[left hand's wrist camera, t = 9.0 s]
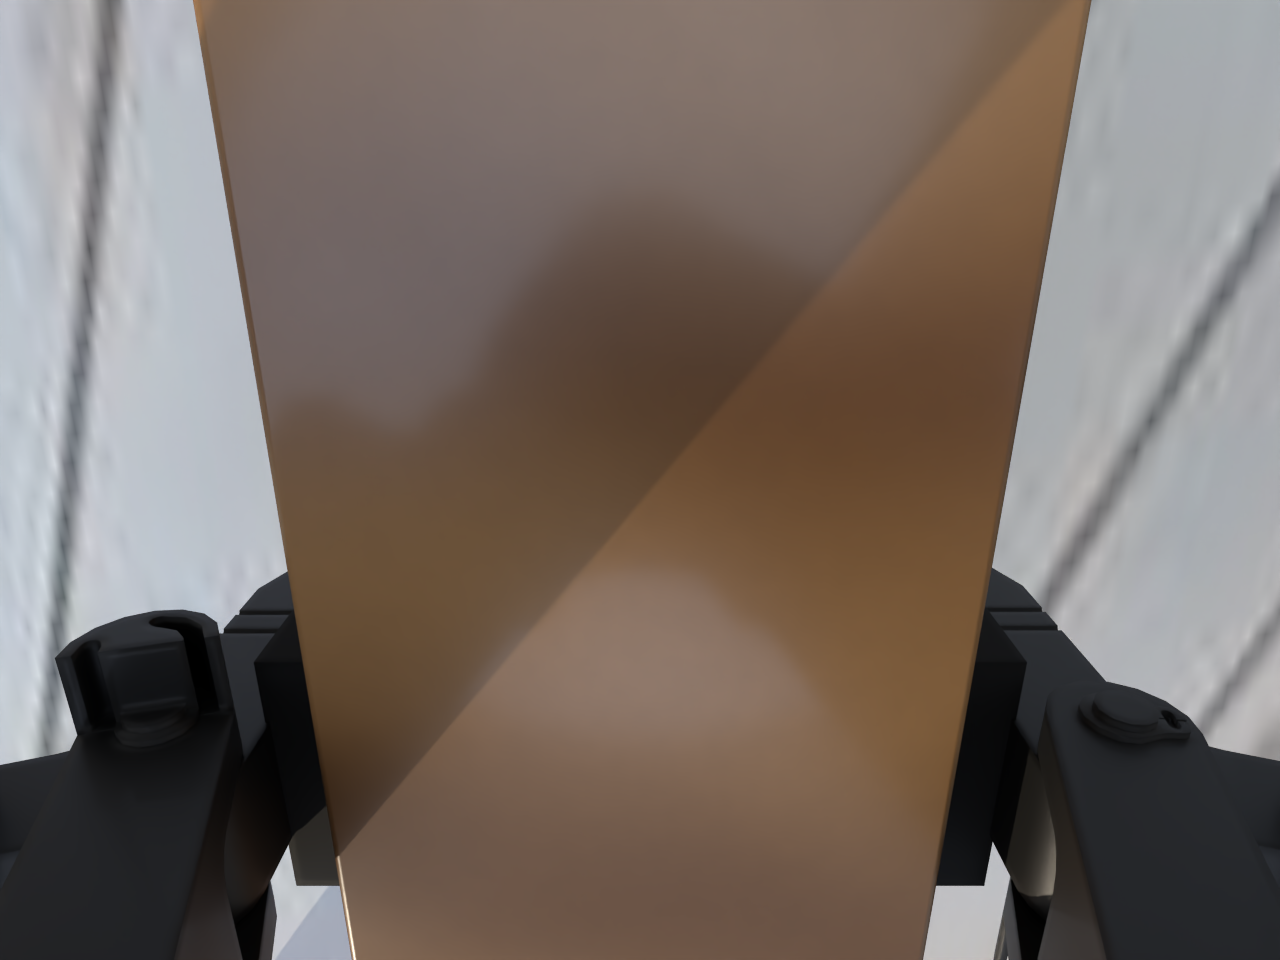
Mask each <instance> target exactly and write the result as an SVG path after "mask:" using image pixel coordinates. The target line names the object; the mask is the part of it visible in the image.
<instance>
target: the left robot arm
mask: <svg viewBox="0 0 1280 960" xmlns="http://www.w3.org/2000/svg"><path fill="white" fill-rule="evenodd" d="M55 660H56V663H57V667H58V670H59V674H60V677H61V681H62V684H63V687H64V691H65V694H66V698H67V701H68V705H69V708H70V711H71V715H72V718H73V722H74V725H75V729H76V732H77V737H76V739H75V741H74V743H73V745H72V747H71V749H70V751H67V752H63V753H59V754H55V755H50V756H44V757H39V758H34V759H29V760H24V761H19V762H14V763H9V764H4V765H0V960H272V952H273V944H274V936H275V927H276V919H277V914H276V907H275V901H274V896H273V891H272V886H271V881H270V880H271V878H272V876H273V874H274V872H275V870H276V868H277V866H278V864H279V862H280V860H281V858H282V856H283V854H284V852H285V850H286V848H287V846H288V844H289V849H290V854H291V859H292V864H293V870H294V875H295V880H296V885H297V886H340V884H339V878H338V872H337V866H336V860H335V854H334V848H333V842H332V836H331V830H330V824H329V817H328V811H327V805H326V799H325V793H324V787H323V781H322V775H321V769H320V763H319V757H318V751H317V745H316V739H315V733H314V727H313V721H312V715H311V709H310V703H309V697H308V691H307V685H306V679H305V673H304V667H303V661H302V655H301V648H300V642H299V636H298V630H297V624H296V618H295V612H294V606H293V600H292V594H291V588H290V582H289V576H288V572H286V573H284V574H283V575H281V576H279V577H277V578H276V579H274V580H272V581H271V582H269V583H267V584H266V585H264V586H262V587H261V588H259V589H258V590H257V591H256V592H255V593H254V594H253V596H252V597H251V598H250V599H249V600H248V601H247V603H246V604H245V605H244V606H243V607H242V608H241V610H240V614H239V615H235V616H234V618H233V619H232V620H231V621H230V622H229V623H228V625H227V626H226V627H225V628H224V633H223V634H219V630H218V625H217V622H215V621H214V620H213V619H211V618H210V617H208V616H207V615H206V614H203V613H198V612H193V611H187V610H163V611H152V612H147V613H142V614H138V615H133V616H128V617H124V618H121V619H118V620H116V621H113V622H110V623H107V624H105V625H102V626H99V627H97V628H94V629H93V630H91V631H89V632H87V633H86V634H84V635H82V636H81V637H79V638H77V639H75V640H74V641H72V642H70V643H69V644H68V645H67V646H66V647H65V648H64V649H63V650H62V651H61V652H60V653H59V654H58V656H57V657H56V658H55ZM992 842H993V843H994V845H995V847H996V849H997V851H998V853H999V855H1000V857H1001V859H1002V861H1003V863H1004V865H1005V867H1006V868H1007V870H1008V872H1009V874H1010V881H1009V886H1008V891H1007V896H1006V900H1005V905H1004V910H1003V915H1002V920H1001V924H1000V929H999V934H998V939H997V944H996V949H995V954H994V960H1007V956H1008V958H1009V960H1280V761H1276V760H1271V759H1266V758H1261V757H1256V756H1251V755H1245V754H1240V753H1235V752H1230V751H1225V750H1221V749H1217V748H1213V747H1209V746H1208V744H1207V742H1206V740H1205V738H1204V736H1203V734H1202V733H1201V731H1200V730H1199V729H1198V728H1197V727H1196V725H1195V724H1194V723H1193V722H1192V720H1191V719H1190V718H1189V717H1188V716H1187V715H1185V714H1184V713H1182V712H1181V711H1179V710H1178V709H1176V708H1175V707H1173V706H1172V705H1170V704H1169V703H1168V702H1166V701H1164V700H1162V699H1159V698H1157V697H1155V696H1152V695H1150V694H1148V693H1146V692H1143V691H1141V690H1139V689H1135V688H1131V687H1127V686H1123V685H1119V684H1115V683H1111V682H1106V681H1105V680H1104V679H1103V677H1102V676H1101V675H1100V674H1099V673H1098V672H1097V671H1096V669H1095V668H1094V667H1093V666H1092V665H1091V664H1090V663H1089V661H1088V660H1087V659H1086V658H1085V657H1084V656H1083V655H1082V653H1081V652H1080V651H1079V650H1078V649H1077V648H1076V646H1075V645H1074V644H1073V643H1072V642H1071V641H1070V640H1069V638H1068V637H1067V636H1066V635H1065V634H1064V633H1063V632H1062V630H1058V629H1057V625H1056V623H1055V622H1054V621H1053V620H1052V619H1051V618H1050V617H1049V615H1048V614H1047V613H1046V612H1042V607H1041V606H1040V605H1039V604H1038V603H1037V602H1036V600H1035V599H1034V598H1033V597H1032V596H1031V595H1030V594H1029V592H1028V591H1027V590H1026V589H1025V588H1024V587H1023V586H1022V585H1020V584H1019V583H1017V582H1015V581H1014V580H1012V579H1010V578H1008V577H1007V576H1005V575H1003V574H1002V573H1000V572H998V571H997V570H995V569H993V568H992V569H991V575H990V580H989V586H988V592H987V597H986V603H985V609H984V614H983V620H982V626H981V632H980V637H979V643H978V649H977V654H976V660H975V666H974V671H973V677H972V683H971V689H970V694H969V700H968V706H967V711H966V717H965V723H964V728H963V734H962V740H961V746H960V751H959V757H958V763H957V768H956V774H955V780H954V785H953V791H952V797H951V802H950V808H949V814H948V820H947V825H946V831H945V837H944V842H943V848H942V854H941V859H940V865H939V871H938V877H937V882H936V886H984V883H985V878H986V873H987V868H988V863H989V857H990V852H991V847H992Z"/></svg>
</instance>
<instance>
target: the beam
mask: <svg viewBox="0 0 1280 960" xmlns="http://www.w3.org/2000/svg"><path fill="white" fill-rule="evenodd" d="M193 3H194V9H195V15H196V21H197V27H198V33H199V39H200V45H201V51H202V57H203V63H204V69H205V75H206V81H207V87H208V93H209V99H210V105H211V111H212V117H213V123H214V129H215V135H216V142H217V148H218V154H219V160H220V166H221V172H222V178H223V184H224V190H225V196H226V202H227V208H228V214H229V220H230V226H231V232H232V238H233V244H234V250H235V256H236V262H237V268H238V274H239V280H240V286H241V292H242V298H243V304H244V311H245V317H246V323H247V329H248V335H249V341H250V347H251V353H252V359H253V365H254V371H255V377H256V383H257V389H258V395H259V401H260V407H261V413H262V419H263V425H264V431H265V437H266V443H267V449H268V455H269V461H270V467H271V473H272V479H273V486H274V492H275V498H276V504H277V510H278V516H279V522H280V528H281V534H282V540H283V546H284V552H285V558H286V564H287V570H288V576H289V582H290V588H291V594H292V600H293V606H294V612H295V618H296V624H297V630H298V636H299V642H300V648H301V655H302V661H303V667H304V673H305V679H306V685H307V691H308V697H309V703H310V709H311V715H312V721H313V727H314V733H315V739H316V745H317V751H318V757H319V763H320V769H321V775H322V781H323V787H324V793H325V799H326V805H327V811H328V817H329V824H330V830H331V836H332V842H333V848H334V854H335V860H336V866H337V872H338V878H339V884H340V890H341V896H342V902H343V908H344V914H345V920H346V926H347V932H348V938H349V944H350V950H351V956H352V960H923V956H924V951H925V945H926V939H927V933H928V928H929V922H930V916H931V911H932V905H933V899H934V894H935V888H936V882H937V877H938V871H939V865H940V859H941V854H942V848H943V842H944V837H945V831H946V825H947V820H948V814H949V808H950V802H951V797H952V791H953V785H954V780H955V774H956V768H957V763H958V757H959V751H960V746H961V740H962V734H963V728H964V723H965V717H966V711H967V706H968V700H969V694H970V689H971V683H972V677H973V671H974V666H975V660H976V654H977V649H978V643H979V637H980V632H981V626H982V620H983V614H984V609H985V603H986V597H987V592H988V586H989V580H990V575H991V569H992V563H993V558H994V552H995V546H996V540H997V535H998V529H999V523H1000V518H1001V512H1002V506H1003V501H1004V495H1005V489H1006V483H1007V478H1008V472H1009V466H1010V461H1011V455H1012V449H1013V444H1014V438H1015V432H1016V427H1017V421H1018V415H1019V409H1020V404H1021V398H1022V392H1023V387H1024V381H1025V375H1026V370H1027V364H1028V358H1029V352H1030V347H1031V341H1032V335H1033V330H1034V324H1035V318H1036V313H1037V307H1038V301H1039V295H1040V290H1041V284H1042V278H1043V273H1044V267H1045V261H1046V256H1047V250H1048V244H1049V239H1050V233H1051V227H1052V221H1053V216H1054V210H1055V204H1056V199H1057V193H1058V187H1059V182H1060V176H1061V170H1062V164H1063V159H1064V153H1065V147H1066V142H1067V136H1068V130H1069V125H1070V119H1071V113H1072V108H1073V102H1074V96H1075V90H1076V85H1077V79H1078V73H1079V68H1080V62H1081V56H1082V51H1083V45H1084V39H1085V33H1086V28H1087V22H1088V16H1089V11H1090V5H1091V0H193Z"/></svg>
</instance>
